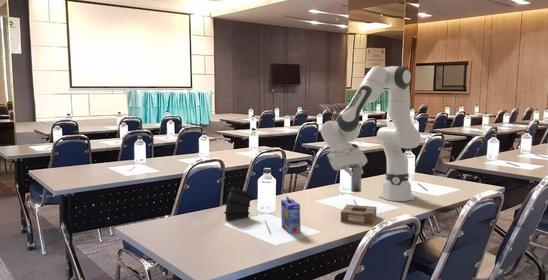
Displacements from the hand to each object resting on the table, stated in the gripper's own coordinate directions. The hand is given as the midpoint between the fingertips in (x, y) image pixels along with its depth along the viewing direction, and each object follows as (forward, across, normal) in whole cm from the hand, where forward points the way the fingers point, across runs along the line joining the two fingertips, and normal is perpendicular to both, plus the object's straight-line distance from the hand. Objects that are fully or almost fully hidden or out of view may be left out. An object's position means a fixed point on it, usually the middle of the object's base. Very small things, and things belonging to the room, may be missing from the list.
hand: (357, 174), depth 207 cm
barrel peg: (+5, 0, +6) cm, 8 cm away
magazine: (-10, -42, +39) cm, 58 cm away
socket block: (+15, 0, +14) cm, 21 cm away
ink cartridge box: (+10, -34, +19) cm, 41 cm away
